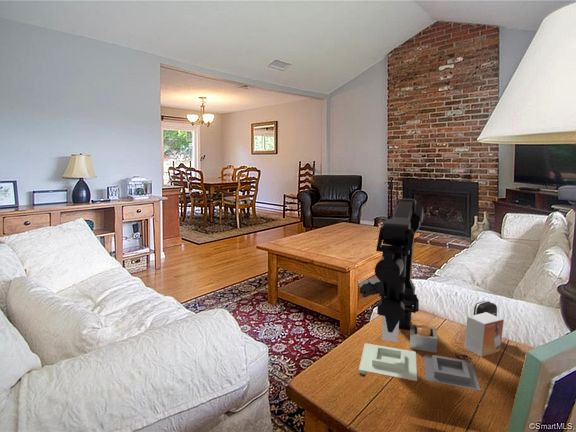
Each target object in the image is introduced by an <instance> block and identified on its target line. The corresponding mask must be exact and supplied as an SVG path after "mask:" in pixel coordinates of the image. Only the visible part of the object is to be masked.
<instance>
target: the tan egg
mask: <svg viewBox="0 0 576 432" xmlns="http://www.w3.org/2000/svg"><path fill="white" fill-rule="evenodd" d="M429 327H430V326H427V325H423V324H421V325H419V326H417V334H418V335H425V336H430V331H431V329H430V328H429Z"/></svg>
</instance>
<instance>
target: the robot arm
mask: <svg viewBox="0 0 576 432" xmlns="http://www.w3.org/2000/svg"><path fill="white" fill-rule="evenodd" d="M423 220H424V207H423V206H422V205H420V204H419V203H417V200H416V199H414V198H399V199H397V203H396V204H395V205H394V208H393V214H392V217H391V218H388V219H386V220H384V222H383V224H382V226H380V228H379V233H378V237H377V244H376V248H375V249H376V252H380V253H381V252H382V256H381V258H380V259H379V261H378V262H377V263H376V265H375V267H374V274H375V276H376V277H373V278H369V279H364V280H361V281H360V282H359V285H358V287H359V294H361V297H362V298H367V297H370V296H374V295H378V297H380V300H379V301H378V303H377V310H376V314H377V315H379V316H382V317H383V316H385V319H386V324H387V329H388V332H391V333H392V332H393V330H394V329H395V327H396V325H397V323H398V322H399V329H400V330H406V331H410V328H411V324H412V325H413V322H412V315H413V314H416V313H417V312H419V306H420V303H419V302H420V298H418V294H417V293H416V286H415V285H414V282H413V281H412V271H413V268H412V267H413V256H414V246H415V244H414V243H415V235H416V233H417V232H418V231H419V229H420V228H421V224H422V223H423V222H424V221H423ZM412 313H413V314H412Z"/></svg>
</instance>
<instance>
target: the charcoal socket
mask: <svg viewBox="0 0 576 432" xmlns="http://www.w3.org/2000/svg"><path fill="white" fill-rule="evenodd" d="M423 361H424V364H423V366H424V374H425V376H424V377H425V381H427V382H432V383H438V384H443V385H449V386H453V387H459V388H463V389H464V388H465V389H467V390H468V389H469V390H474V391H477V392H478V391H480V392H482V389H481V387H480V383H479V380H478V378H477V374H476V370H475V368H474V365H473V363H472V362H468V361H466V360H464V359H459V358H453V357H447V356H441V355H434V354H432V355H427V354H423Z"/></svg>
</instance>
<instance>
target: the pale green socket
mask: <svg viewBox="0 0 576 432" xmlns="http://www.w3.org/2000/svg"><path fill="white" fill-rule="evenodd" d="M417 368H418V367H417V352H416V351H413V350H408V349H401V348H398V347H397V348H396V347H391V346H385V345H379V344H373V343H366V342H365V343H364V345H363V350H362V355H361V358H360V363H359V366H358V374H360V373H361V375H367V373H368V372H369V373H373V374H379V375H385V376H389V377H393V378H394V377H395V378H399V379H404V380H409V381H416V382H417V381H418V370H417Z"/></svg>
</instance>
